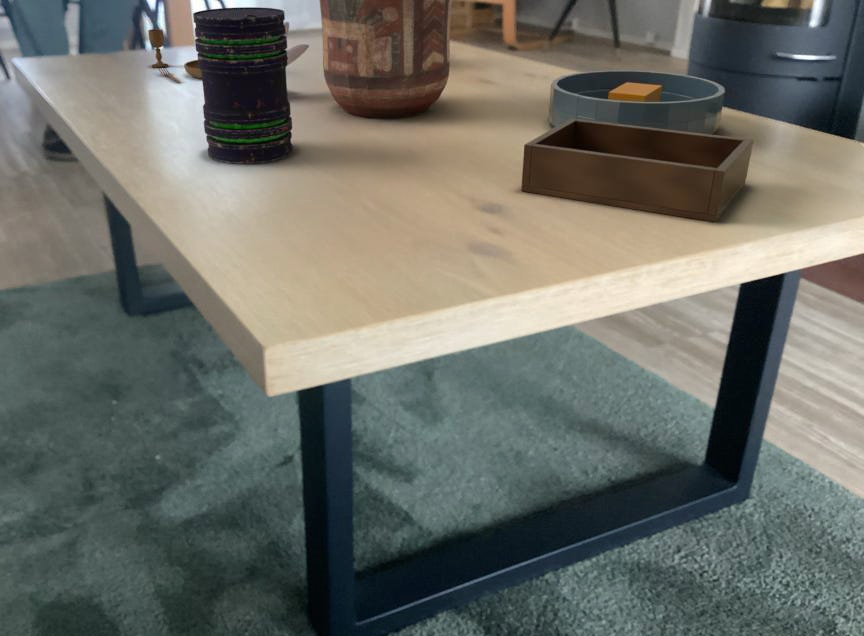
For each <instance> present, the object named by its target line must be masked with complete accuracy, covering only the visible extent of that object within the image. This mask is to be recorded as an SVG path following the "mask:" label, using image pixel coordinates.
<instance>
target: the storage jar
mask: <svg viewBox="0 0 864 636" xmlns="http://www.w3.org/2000/svg"><path fill="white" fill-rule="evenodd" d="M192 18H193V22H194V24H195V27H194V35H195V39H194V43H195V51H196V52H197V59H196V60H197V62H198V65H199V69H200V70H201V73H202V79H201V81H202V90H203V91H202V92H203V99H204V104H203V105H202V110H203V112H202V113H203V118H204V120H203V128H204V133H205V135H206V137H205V139H206V143H207V144H208V148H207V156H208V158H210V159H211V160H213V161H216V162H219V163H225V164H235V165H246V164H247V165H249V164H250V165H251V164H262V163H263V164H264V163H269V162H274V161H279V160H282V159H285V158H288V157H289V156H290V155H291V154H293V151H294V150H293V149H294V147H293V144H292V137H293V135H292V129H293V119H292V116H291V114H292V113H291V103H290V101H289V99H288V87H287V85H288V84H287V67H288V65H287V64H288V63H287V60H288V57H287V51H286V50H287V49H288V36H287V37H286V36H284V35H285V33H286V32H285V25H284V23H285V22H284V21H285V18H286V16H285V11H284V10H283V9H280V8H272V7H257V6H256V7H255V6H253V7H252V6H251V7H248V6H247V7H245V6H243V7H241V6H239V7H223V8H222V7H221V8H210V9H205V10H204V9H203V10H199V11H195V12H193V13H192ZM198 52H199V53H198Z"/></svg>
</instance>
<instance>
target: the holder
mask: <svg viewBox="0 0 864 636" xmlns="http://www.w3.org/2000/svg"><path fill="white" fill-rule="evenodd" d="M753 145H754V139H752V138H743V137H734V136H725V135H717V134H716V135H715V134H711V135H710V134H701V133H693V132H684V131H675V130H667V129H658V128H650V127H641V126H632V125H624V124H615V123H607V122H598V121H589V120H581V119H572V118H571V119H569V120H568V121H566V122H564V123H562V124H560V125H559V126H557V127H555V126H554V127H553V128H551V129H549V130H548V131H546V132H544V133H543V134H541V135H539V136H537V137H536V138H533V139H532V140H530V141H528V142H526V143H524V146H523V158H522V173H521V174H522V175H521V176H522V177H521V187H520V190H521V192H527V193H532V194H538V195H545V196H550V197H557V198H563V199H568V200H569V199H570V200H575V201H583V202H588V203H592V204H593V203H594V204H600V205H605V206H613V207H617V208H626V209H632V210H638V211H642V212H643V211H644V212H649V213H655V214H663V215H668V216H675V217H679V218H680V217H681V218H685V219H687V218H688V219H693V220H700V221H705V222H712V223H716V222H717V220H719V218H720V217H721V216H722V214H723V213H724V212H725V211H726V209H727V208H728V207H729V206H730V205H731V203H732V202H733V201H734V199H735V198H736V197H737V196H738V194H739V193H740V192H741V191H742V189H743V188H744V187H745V186H746V180H747V178H748V177H747V175H748V171H749V166H750V161H751V156H752V150H753Z"/></svg>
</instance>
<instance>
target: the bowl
mask: <svg viewBox="0 0 864 636" xmlns="http://www.w3.org/2000/svg"><path fill="white" fill-rule="evenodd" d="M627 82H629V83H640V84H650V85H661V86H662V90H661V97H660V102H634V101H618V100H608V95H609V92H610V91H612V90H614V89H616V88H617V87H619V86H621V85H623V84H625V83H627ZM549 91H550V92H549V103H548V104H549V105H548V106H549V107H548V115H547V117H548V119H547V120H548V121H549V123H550V125H551V126H553V127H554V128H555V127H557V126H559V125H560V124H562V123H564V122H566V121H568V120H569V119H571V118H572V119H581V120H589V121H598V122H607V123H615V124H624V125H632V126H641V127H650V128H658V129H667V130H675V131H684V132H693V133H701V134H710V135H714V134H715V132H717V131H718V130H719V129H720V123H721V117H722V112H723V106H724V102H725V101H724V99H725V94H726V90H725V87H724V86H723V85H721V84H719V83H718V82H715V81H713V80H709V79H707V78H702V77H697V76H693V75H688V74H680V73H673V72H664V71H652V70H634V69H633V70H630V69H629V70H628V69H627V70H626V69H625V70H624V69H623V70H619V69H617V70H614V69H613V70H592V71H583V72H574V73H570V74H565V75H561V76H559V77H556V78H555V79H553V80H552V82H551V83H550V90H549Z"/></svg>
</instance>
